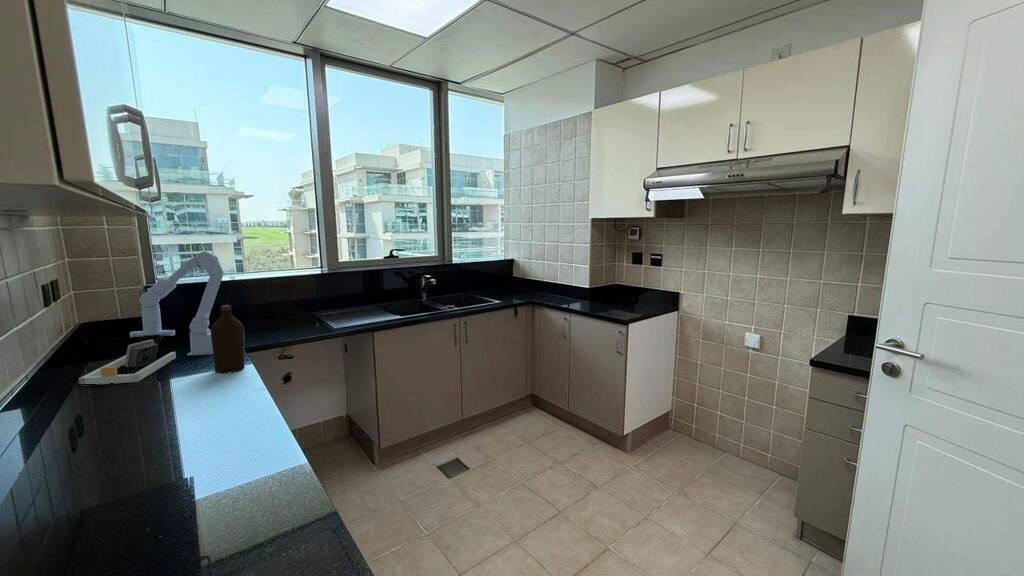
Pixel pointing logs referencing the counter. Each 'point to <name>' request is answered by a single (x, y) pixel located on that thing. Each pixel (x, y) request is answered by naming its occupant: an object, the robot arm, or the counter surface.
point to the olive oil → (227, 342)
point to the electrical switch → (141, 353)
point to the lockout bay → (109, 374)
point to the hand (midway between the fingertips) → (154, 353)
